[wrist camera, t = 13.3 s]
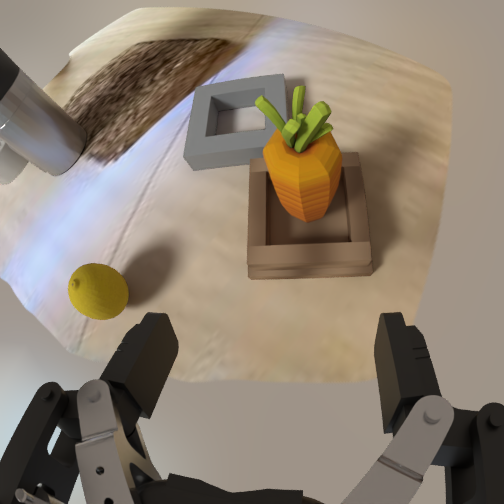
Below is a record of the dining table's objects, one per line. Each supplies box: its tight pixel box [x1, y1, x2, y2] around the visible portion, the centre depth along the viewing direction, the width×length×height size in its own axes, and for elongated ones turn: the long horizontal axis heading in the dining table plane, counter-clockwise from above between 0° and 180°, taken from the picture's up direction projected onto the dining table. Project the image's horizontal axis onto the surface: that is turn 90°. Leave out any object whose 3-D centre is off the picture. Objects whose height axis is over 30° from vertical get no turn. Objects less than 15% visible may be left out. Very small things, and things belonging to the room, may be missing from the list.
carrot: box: [255, 86, 342, 223], centre depth 20 cm, size 5×5×15 cm
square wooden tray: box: [247, 152, 373, 280], centre depth 27 cm, size 11×11×4 cm
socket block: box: [183, 74, 289, 171], centre depth 32 cm, size 11×11×3 cm
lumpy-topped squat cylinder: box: [0, 139, 28, 185], centre depth 42 cm, size 10×13×9 cm
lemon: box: [68, 263, 129, 320], centre depth 27 cm, size 6×6×8 cm
